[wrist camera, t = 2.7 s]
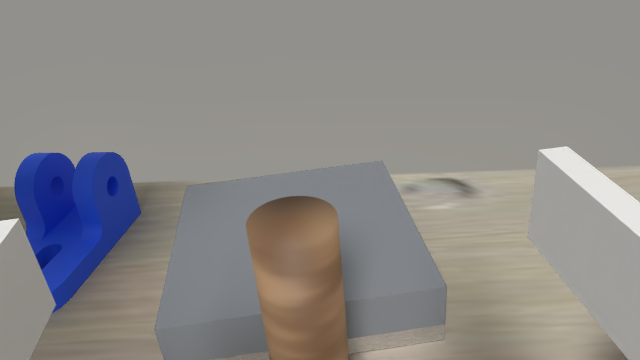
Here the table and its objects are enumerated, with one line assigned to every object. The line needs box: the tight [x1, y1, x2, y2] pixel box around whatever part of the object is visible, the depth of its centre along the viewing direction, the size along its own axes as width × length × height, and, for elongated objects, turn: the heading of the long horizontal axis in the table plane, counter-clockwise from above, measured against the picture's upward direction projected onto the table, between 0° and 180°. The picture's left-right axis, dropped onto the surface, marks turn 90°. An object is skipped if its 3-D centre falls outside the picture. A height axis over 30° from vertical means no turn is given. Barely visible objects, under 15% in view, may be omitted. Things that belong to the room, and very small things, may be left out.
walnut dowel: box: [246, 196, 349, 360], centre depth 29 cm, size 4×4×16 cm
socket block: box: [154, 161, 447, 360], centre depth 45 cm, size 20×20×5 cm
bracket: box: [15, 152, 141, 313], centre depth 49 cm, size 18×8×9 cm, turn 172°
